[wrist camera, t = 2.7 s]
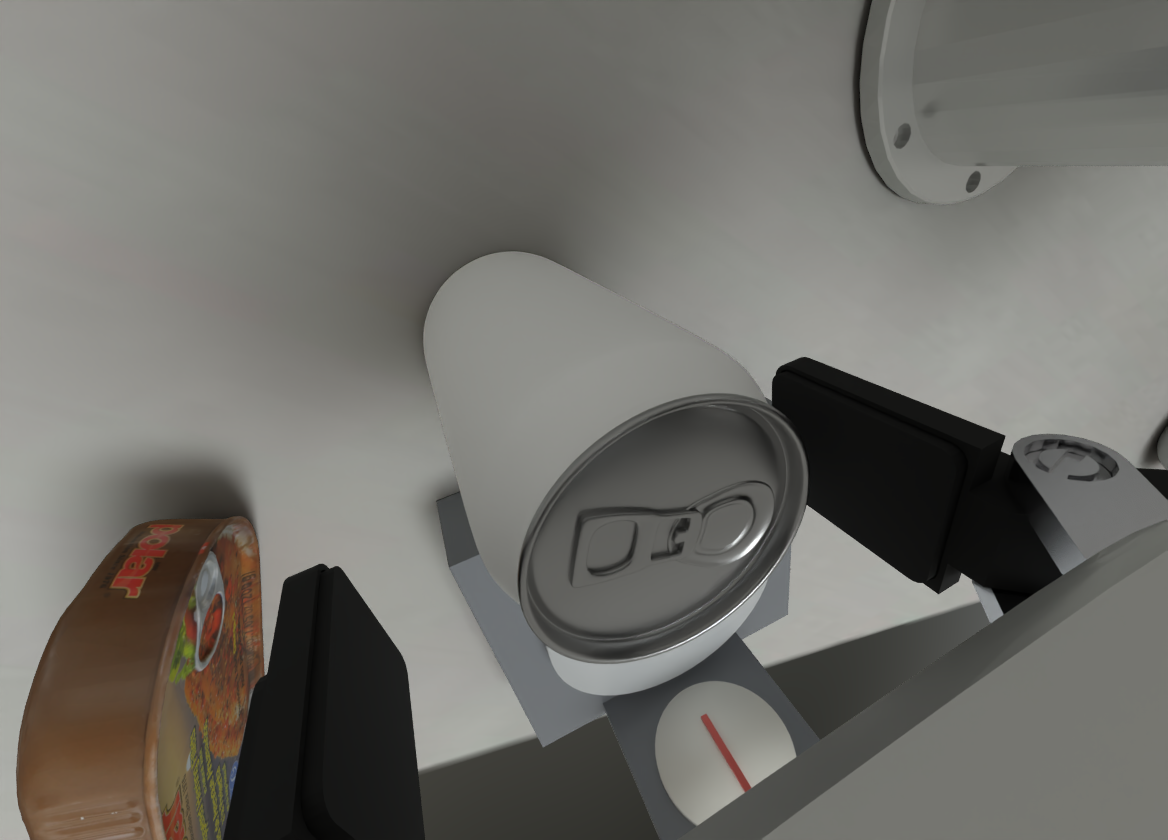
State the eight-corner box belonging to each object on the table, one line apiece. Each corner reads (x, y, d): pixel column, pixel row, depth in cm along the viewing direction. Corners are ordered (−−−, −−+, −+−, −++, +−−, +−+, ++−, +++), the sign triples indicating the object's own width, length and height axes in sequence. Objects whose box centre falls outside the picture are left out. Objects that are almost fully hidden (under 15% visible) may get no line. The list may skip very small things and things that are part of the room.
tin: (267, 741, 22) (219, 999, 15) (182, 757, 21) (88, 1048, 14) (258, 466, 17) (175, 678, 10) (141, 465, 15) (-51, 709, 8)
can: (579, 412, 21) (769, 638, 11) (422, 419, 18) (480, 722, 8) (601, 257, 18) (883, 367, 8) (419, 239, 15) (503, 368, 5)
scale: (436, 501, 20) (498, 830, 10) (737, 380, 23) (1008, 539, 13) (522, 676, 27) (608, 969, 17) (742, 566, 30) (920, 758, 20)
